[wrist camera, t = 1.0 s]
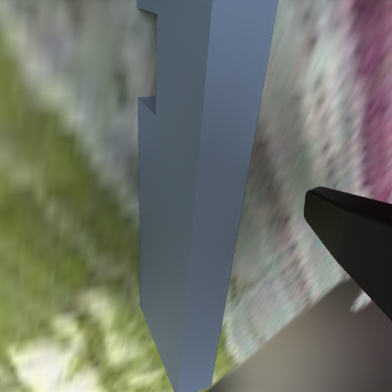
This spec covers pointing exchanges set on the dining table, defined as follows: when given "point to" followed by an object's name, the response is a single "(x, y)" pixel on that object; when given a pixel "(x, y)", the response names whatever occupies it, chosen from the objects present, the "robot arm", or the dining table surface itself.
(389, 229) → the robot arm
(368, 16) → the dining table surface
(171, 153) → the slate blue tapered plate
